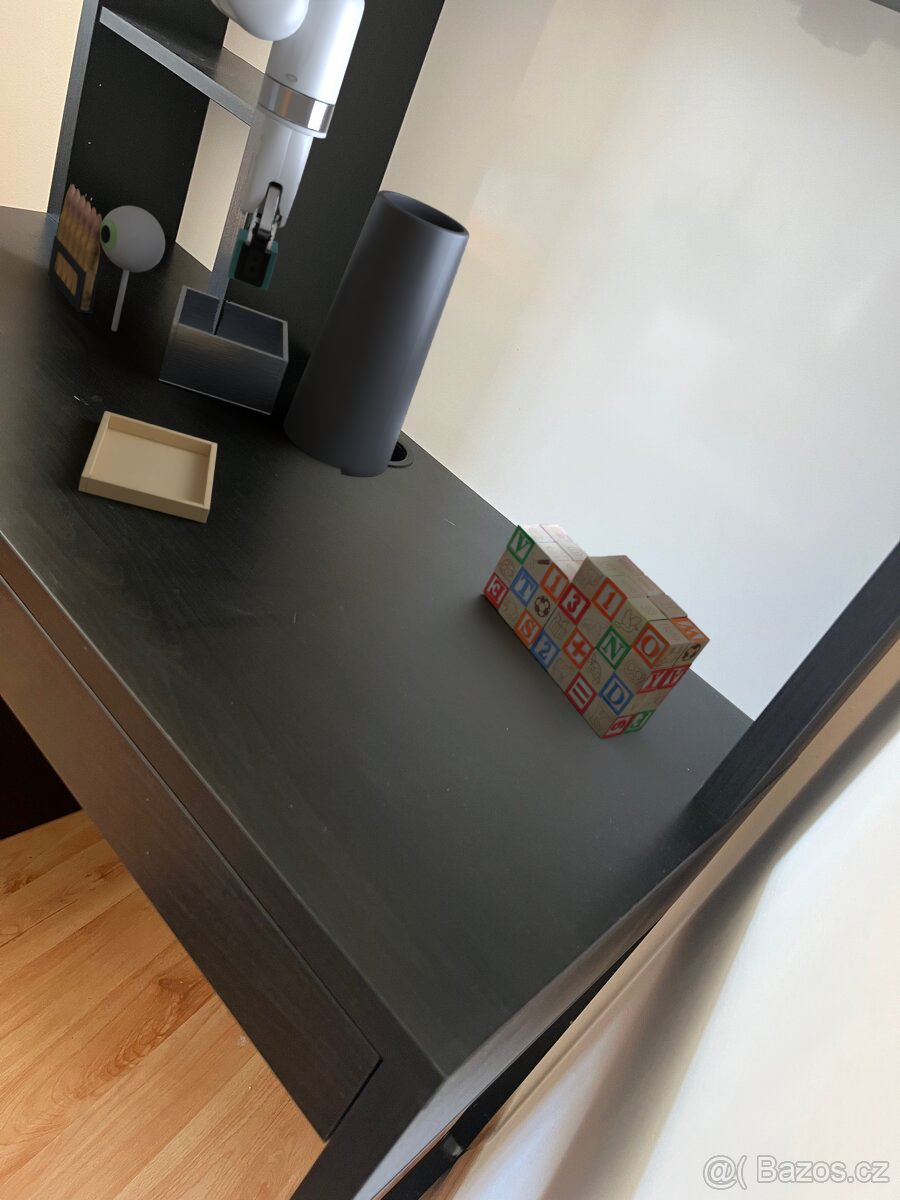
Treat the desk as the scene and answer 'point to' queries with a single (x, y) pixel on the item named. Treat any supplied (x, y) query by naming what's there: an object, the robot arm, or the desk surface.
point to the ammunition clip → (77, 252)
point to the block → (236, 252)
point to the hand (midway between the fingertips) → (248, 273)
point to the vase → (376, 336)
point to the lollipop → (131, 245)
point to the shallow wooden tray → (150, 467)
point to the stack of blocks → (594, 626)
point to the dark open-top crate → (225, 353)
